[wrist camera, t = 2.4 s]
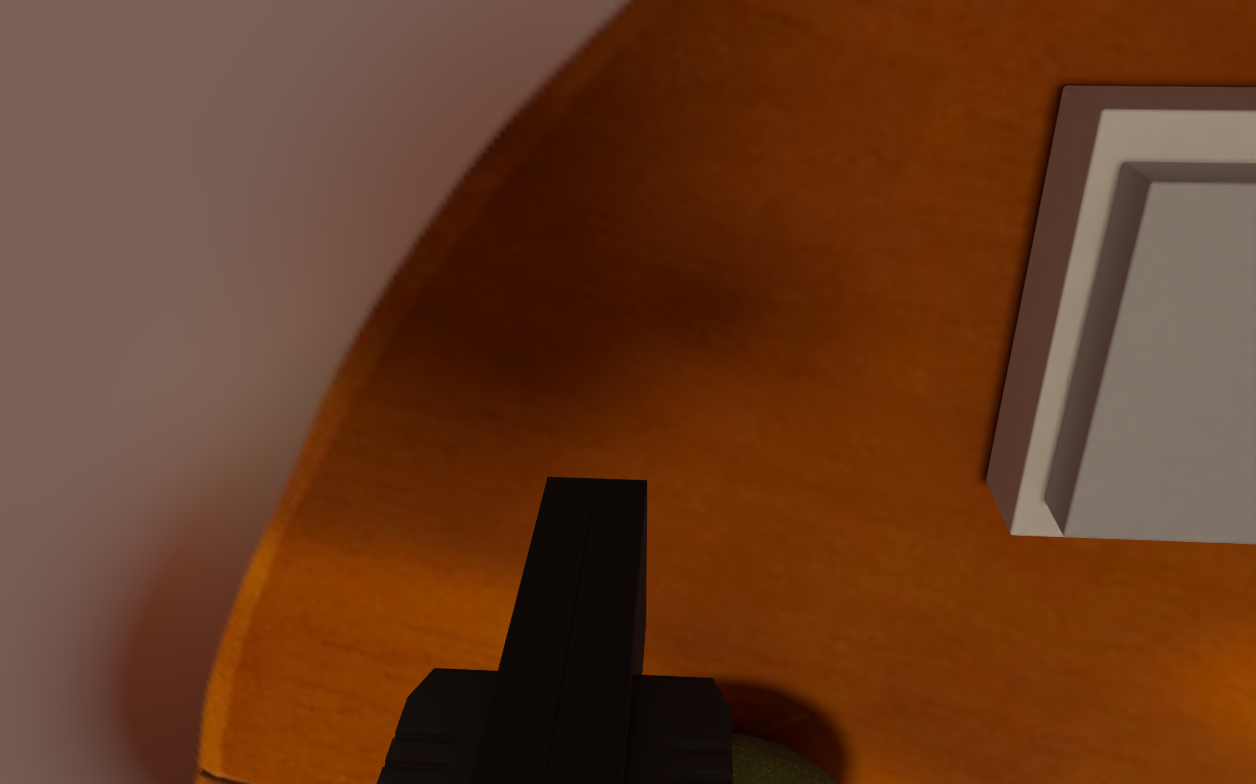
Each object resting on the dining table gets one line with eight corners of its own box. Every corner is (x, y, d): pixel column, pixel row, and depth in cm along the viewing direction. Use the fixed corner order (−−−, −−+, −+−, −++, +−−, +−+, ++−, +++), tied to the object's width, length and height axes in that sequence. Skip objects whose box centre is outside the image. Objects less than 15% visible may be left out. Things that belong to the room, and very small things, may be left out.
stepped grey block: (1062, 84, 21) (1130, 126, 18) (1357, 87, 21) (1483, 130, 17) (984, 481, 26) (1026, 573, 22) (1224, 489, 25) (1302, 584, 22)
